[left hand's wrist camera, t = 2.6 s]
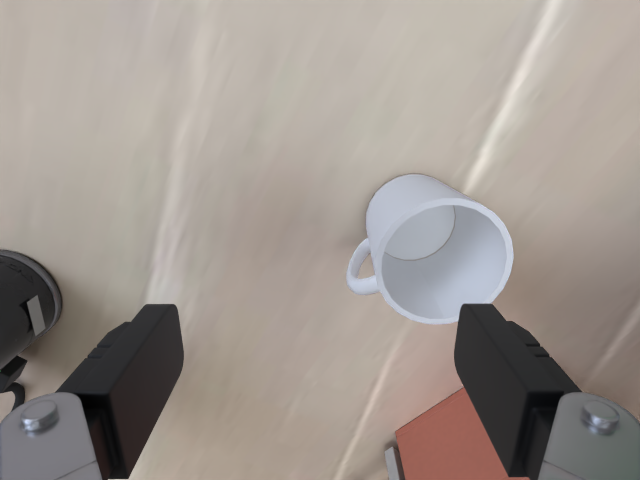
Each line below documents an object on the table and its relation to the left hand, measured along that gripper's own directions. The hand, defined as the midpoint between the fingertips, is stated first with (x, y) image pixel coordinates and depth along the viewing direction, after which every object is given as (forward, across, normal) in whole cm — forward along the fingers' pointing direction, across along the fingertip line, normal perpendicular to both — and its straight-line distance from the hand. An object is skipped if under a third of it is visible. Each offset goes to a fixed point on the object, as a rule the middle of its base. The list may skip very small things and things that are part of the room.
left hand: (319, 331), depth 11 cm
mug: (+24, +7, -4) cm, 26 cm away
